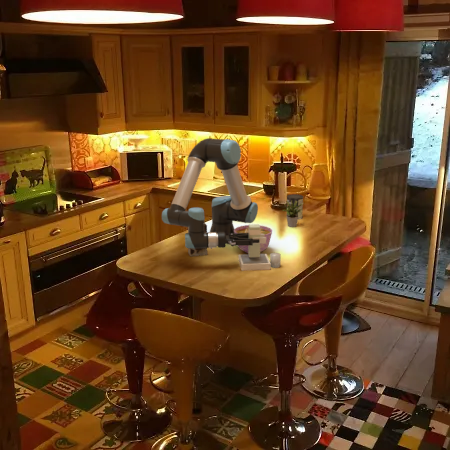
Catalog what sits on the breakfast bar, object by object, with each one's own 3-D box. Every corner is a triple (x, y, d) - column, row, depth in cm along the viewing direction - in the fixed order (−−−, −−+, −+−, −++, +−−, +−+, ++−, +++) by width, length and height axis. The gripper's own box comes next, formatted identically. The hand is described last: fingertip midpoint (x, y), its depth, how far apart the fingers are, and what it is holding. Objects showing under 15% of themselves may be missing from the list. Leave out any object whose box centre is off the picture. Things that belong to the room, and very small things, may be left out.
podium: (238, 260, 269) (238, 254, 268) (266, 259, 270) (266, 253, 269) (241, 270, 256) (241, 263, 255) (270, 269, 257) (270, 262, 256)
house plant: (304, 230, 317) (305, 203, 312) (280, 229, 319) (281, 203, 314) (304, 223, 330) (305, 198, 326) (282, 222, 332) (282, 197, 328)
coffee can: (290, 220, 338) (291, 198, 334) (283, 216, 347) (284, 195, 343) (305, 218, 341) (306, 197, 337) (298, 214, 350) (299, 193, 346)
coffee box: (190, 256, 275) (189, 226, 270) (188, 252, 281) (187, 223, 276) (207, 255, 277) (207, 225, 273) (204, 251, 283) (204, 221, 279)
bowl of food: (262, 243, 295) (262, 223, 291) (278, 254, 277) (279, 233, 273) (228, 247, 288) (228, 227, 284) (242, 259, 270) (242, 238, 267)
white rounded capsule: (269, 264, 264) (269, 252, 262) (279, 264, 264) (279, 252, 262) (270, 268, 259) (271, 256, 257) (281, 267, 259) (281, 255, 257)
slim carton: (248, 253, 264) (248, 224, 260) (258, 253, 264) (258, 224, 260) (249, 257, 259) (249, 227, 255) (260, 257, 259) (260, 227, 255)
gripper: (216, 241, 267) (262, 240, 269) (218, 253, 250) (267, 251, 252) (215, 227, 265) (262, 225, 267) (218, 238, 248) (268, 236, 250)
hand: (265, 238), depth 260 cm, fingers closed on slim carton, 5 cm apart
